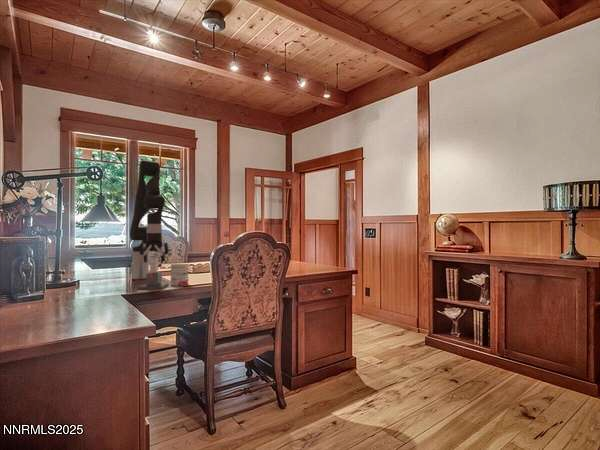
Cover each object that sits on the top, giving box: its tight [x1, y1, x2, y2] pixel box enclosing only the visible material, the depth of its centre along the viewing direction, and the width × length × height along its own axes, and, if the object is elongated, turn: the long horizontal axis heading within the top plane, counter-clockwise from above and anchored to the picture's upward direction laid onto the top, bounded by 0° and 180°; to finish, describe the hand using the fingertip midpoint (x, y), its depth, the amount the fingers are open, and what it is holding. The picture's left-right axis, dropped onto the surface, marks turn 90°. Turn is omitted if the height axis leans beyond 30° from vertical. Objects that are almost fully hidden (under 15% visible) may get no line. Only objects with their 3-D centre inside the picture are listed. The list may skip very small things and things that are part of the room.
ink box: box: [170, 263, 189, 286], centre depth 196 cm, size 9×5×12 cm, turn 84°
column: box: [149, 254, 159, 273], centre depth 186 cm, size 4×4×16 cm
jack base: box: [137, 271, 169, 291], centre depth 186 cm, size 12×12×8 cm
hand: (154, 262), depth 186 cm, fingers open, 8 cm apart
